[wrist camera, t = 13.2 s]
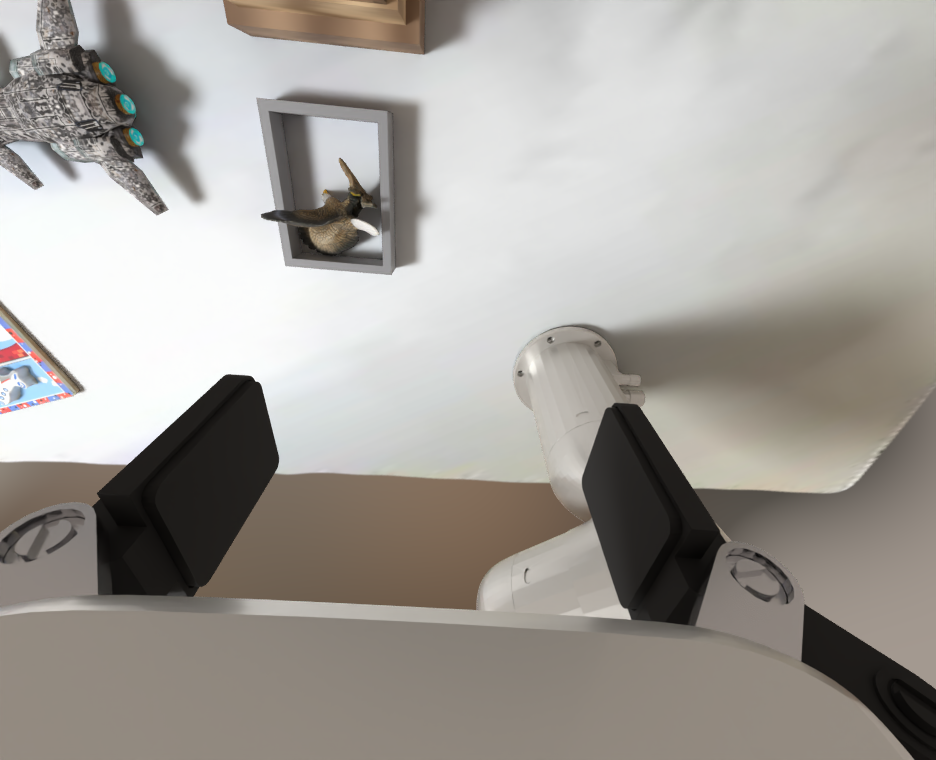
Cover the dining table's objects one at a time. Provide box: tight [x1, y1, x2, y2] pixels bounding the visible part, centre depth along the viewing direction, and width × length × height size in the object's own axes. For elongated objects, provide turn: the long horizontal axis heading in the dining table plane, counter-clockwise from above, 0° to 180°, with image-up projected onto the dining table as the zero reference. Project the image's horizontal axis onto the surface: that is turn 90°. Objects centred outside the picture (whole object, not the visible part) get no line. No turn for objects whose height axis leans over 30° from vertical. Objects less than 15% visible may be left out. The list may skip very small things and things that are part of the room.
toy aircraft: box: [0, 0, 169, 215], centre depth 31 cm, size 16×20×5 cm
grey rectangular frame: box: [257, 98, 395, 275], centre depth 35 cm, size 11×14×2 cm
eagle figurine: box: [261, 158, 379, 256], centre depth 35 cm, size 8×7×9 cm
